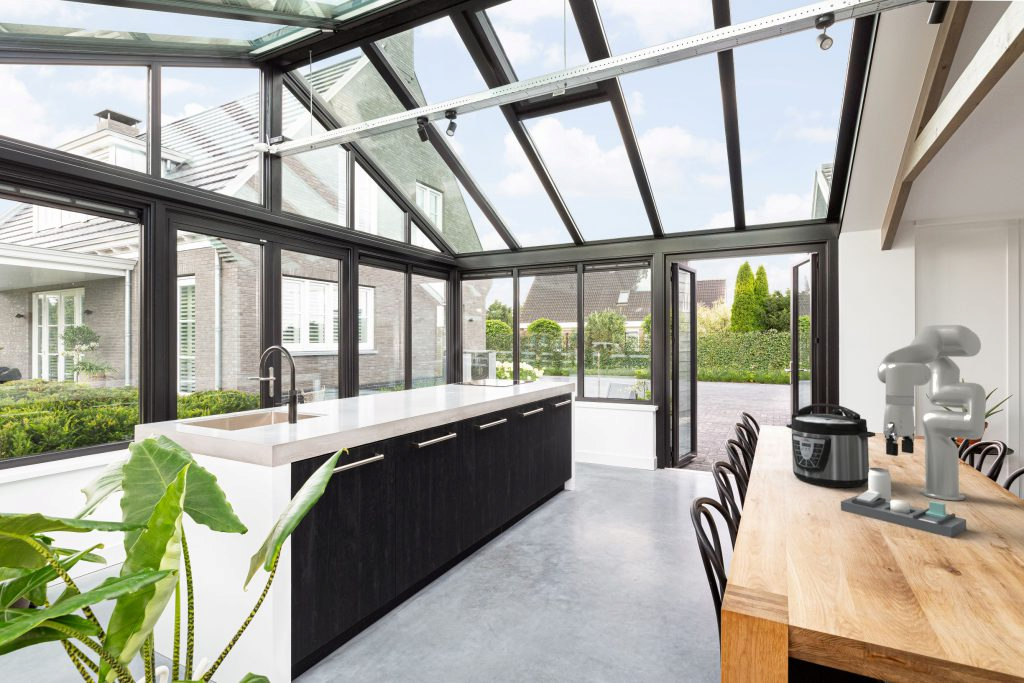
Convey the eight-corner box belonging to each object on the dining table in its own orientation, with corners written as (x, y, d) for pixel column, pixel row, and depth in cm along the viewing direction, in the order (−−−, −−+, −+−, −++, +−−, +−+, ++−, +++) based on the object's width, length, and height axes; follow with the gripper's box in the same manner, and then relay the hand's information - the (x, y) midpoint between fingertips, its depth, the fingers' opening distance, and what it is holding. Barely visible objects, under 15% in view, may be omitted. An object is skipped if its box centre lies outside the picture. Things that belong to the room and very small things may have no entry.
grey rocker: (867, 493, 178) (867, 489, 178) (880, 496, 174) (880, 492, 174) (856, 501, 174) (856, 497, 173) (870, 504, 170) (869, 500, 170)
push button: (894, 510, 170) (894, 498, 170) (912, 514, 166) (912, 502, 166) (887, 513, 167) (887, 501, 167) (905, 517, 163) (905, 505, 163)
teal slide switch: (930, 512, 163) (930, 499, 163) (949, 516, 159) (949, 503, 159) (925, 514, 161) (925, 502, 161) (944, 519, 157) (944, 506, 157)
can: (894, 506, 179) (894, 472, 179) (874, 505, 180) (873, 471, 180) (885, 500, 185) (884, 467, 185) (865, 500, 186) (864, 466, 186)
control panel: (857, 503, 182) (857, 492, 182) (966, 529, 157) (966, 515, 157) (840, 510, 176) (840, 497, 176) (951, 537, 150) (951, 523, 150)
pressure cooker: (776, 471, 228) (775, 400, 228) (841, 471, 227) (840, 399, 227) (812, 491, 198) (811, 408, 198) (888, 491, 197) (886, 408, 197)
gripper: (900, 399, 175) (900, 449, 175) (872, 401, 167) (872, 454, 166) (926, 401, 168) (926, 453, 168) (899, 403, 160) (899, 458, 160)
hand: (899, 453), depth 167 cm, fingers open, 9 cm apart
